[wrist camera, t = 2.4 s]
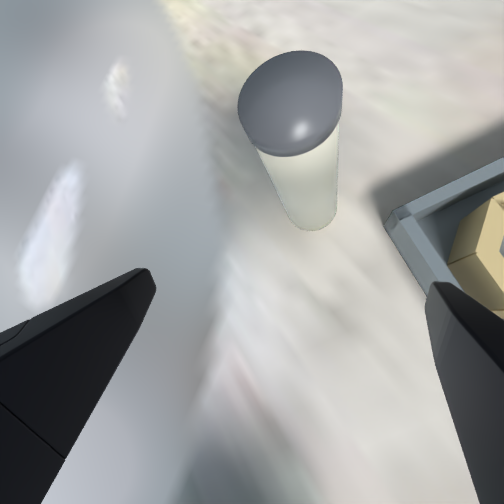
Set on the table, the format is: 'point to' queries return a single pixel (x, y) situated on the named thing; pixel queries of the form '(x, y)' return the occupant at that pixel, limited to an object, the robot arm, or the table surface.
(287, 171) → the cream and grey cylinder
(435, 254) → the walled box
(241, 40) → the table surface
